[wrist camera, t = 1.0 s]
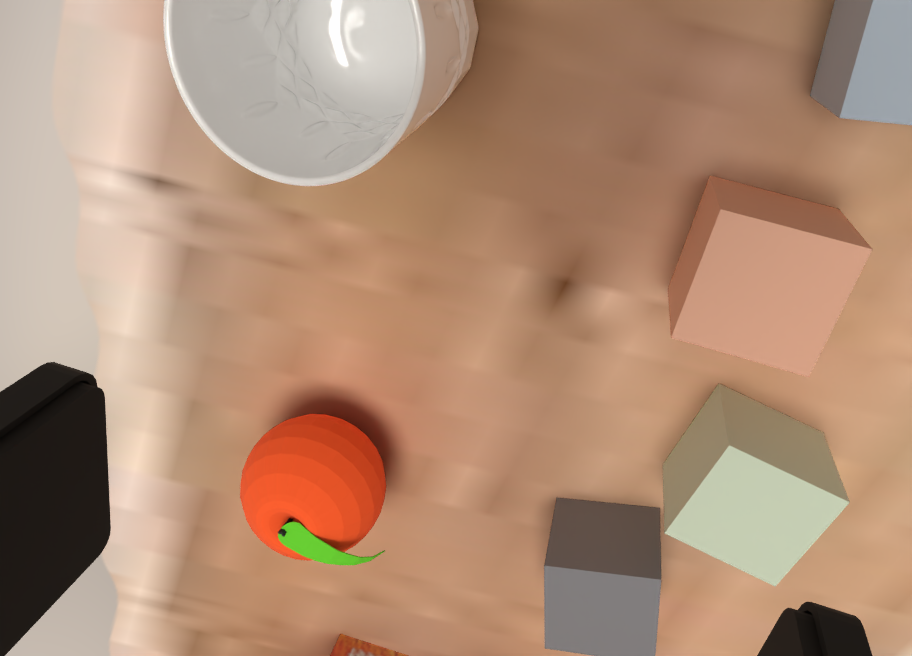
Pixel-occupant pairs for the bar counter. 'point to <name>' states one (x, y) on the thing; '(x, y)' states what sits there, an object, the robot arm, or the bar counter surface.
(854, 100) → the slate block
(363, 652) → the pasta box
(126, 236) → the bar counter surface
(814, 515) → the sage block
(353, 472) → the clementine
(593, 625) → the charcoal block
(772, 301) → the terracotta block
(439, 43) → the white cup
